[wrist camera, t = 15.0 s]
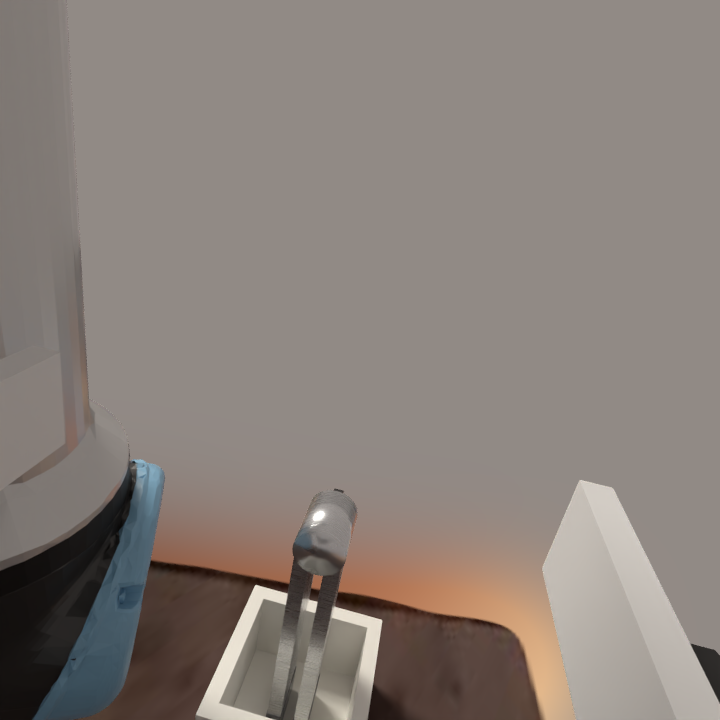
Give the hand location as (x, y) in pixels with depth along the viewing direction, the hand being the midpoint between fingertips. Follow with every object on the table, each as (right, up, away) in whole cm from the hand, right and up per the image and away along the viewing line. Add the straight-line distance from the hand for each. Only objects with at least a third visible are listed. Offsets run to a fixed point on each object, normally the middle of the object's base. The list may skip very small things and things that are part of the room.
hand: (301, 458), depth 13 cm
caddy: (-4, -24, +24) cm, 34 cm away
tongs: (-4, -23, +23) cm, 33 cm away
